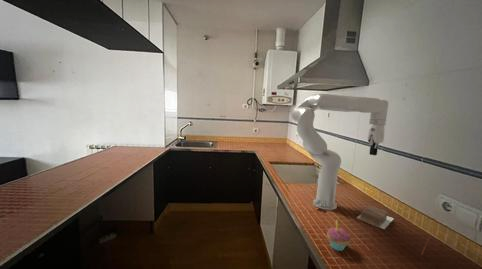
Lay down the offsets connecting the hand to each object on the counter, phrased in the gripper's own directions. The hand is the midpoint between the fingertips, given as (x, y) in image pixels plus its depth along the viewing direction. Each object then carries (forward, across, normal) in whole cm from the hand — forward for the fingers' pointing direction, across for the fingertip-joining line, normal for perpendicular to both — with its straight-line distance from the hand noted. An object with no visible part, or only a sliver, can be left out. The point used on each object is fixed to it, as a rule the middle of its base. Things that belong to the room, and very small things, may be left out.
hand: (372, 154), depth 115 cm
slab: (+28, -10, -9) cm, 31 cm away
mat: (+30, -13, -9) cm, 34 cm away
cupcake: (+30, -51, -9) cm, 60 cm away
